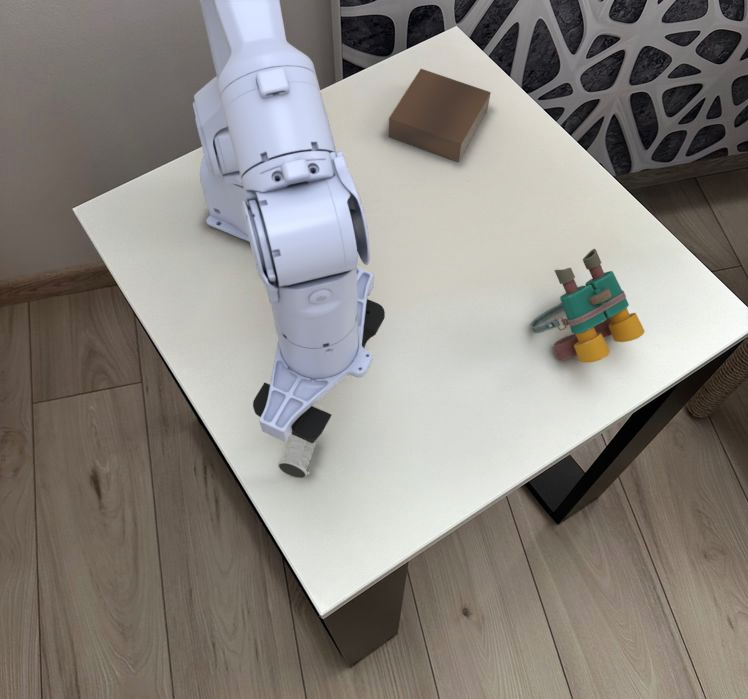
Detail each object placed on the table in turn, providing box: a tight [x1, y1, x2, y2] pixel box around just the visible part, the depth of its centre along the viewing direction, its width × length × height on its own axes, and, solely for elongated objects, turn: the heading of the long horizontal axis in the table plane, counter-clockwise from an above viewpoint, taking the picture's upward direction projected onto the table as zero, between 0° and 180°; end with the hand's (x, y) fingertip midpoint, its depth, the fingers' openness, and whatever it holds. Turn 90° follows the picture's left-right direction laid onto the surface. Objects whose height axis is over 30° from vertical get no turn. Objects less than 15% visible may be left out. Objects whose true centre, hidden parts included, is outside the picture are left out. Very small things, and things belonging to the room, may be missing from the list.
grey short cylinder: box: [277, 434, 318, 479], centre depth 69 cm, size 3×5×5 cm, turn 162°
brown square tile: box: [387, 68, 492, 163], centre depth 90 cm, size 9×9×3 cm
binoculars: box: [529, 248, 646, 364], centre depth 74 cm, size 9×9×10 cm
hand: (325, 396), depth 64 cm, fingers open, 7 cm apart
